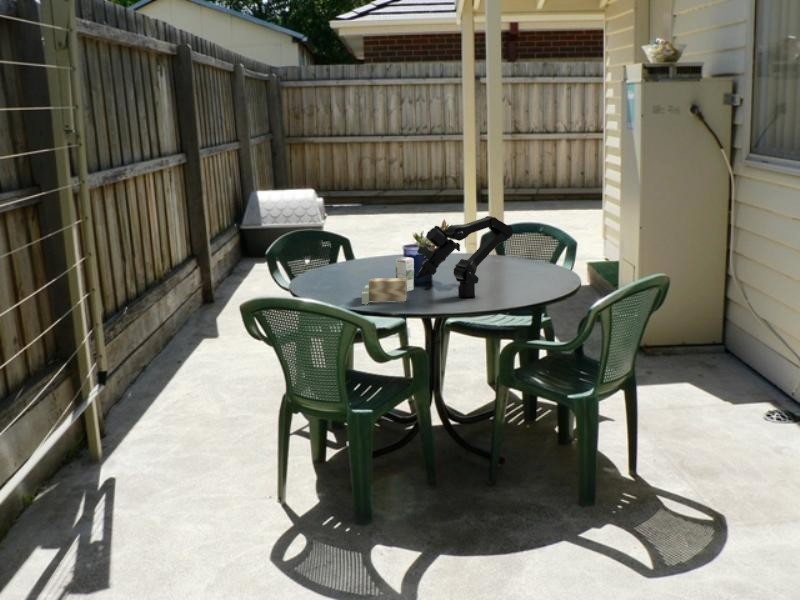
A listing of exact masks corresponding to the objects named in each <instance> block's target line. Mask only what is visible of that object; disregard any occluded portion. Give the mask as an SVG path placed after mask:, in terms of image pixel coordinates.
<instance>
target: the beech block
mask: <svg viewBox="0 0 800 600" xmlns="http://www.w3.org/2000/svg"><path fill="white" fill-rule="evenodd" d="M368 285H369V301H406V302H407V299H406V298H407V292H406V278H396V277H395V278H394V277H393V278H391V277H389V278H388V277H387V278H386V277H385V278H384V277H383V278H382V277H381V278H378V277H376V278H369V280H368Z"/></svg>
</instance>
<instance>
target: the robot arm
mask: <svg viewBox="0 0 800 600" xmlns="http://www.w3.org/2000/svg"><path fill="white" fill-rule="evenodd" d="M484 229H489V230H490V234H489V237H488V238H487V239H486V240H485V241H484V242H483V243H482V244H481V245H480V246H479V247H478V249H477V250H475V252H474V253H473V254H472V255H471V256H470V257H469V258H468V259H463V258H461V259H459V261H458V263H456V264H455V266H454V268H453V275H454V277H455V280H456V282H458V283H459V284H458V288H457V289H458V291H457V293H458V295H457V296H458V297H459V298H460V297H462V298H461V299H464V298H463V297H475V298H476V293H475V292H476V285H475V284H478V283H479V280H480V278H479V277H478V275H476V272H477V268H478V266H480V265H481V263H482V262H483V261H484V260H486V258H487V257H488V256H489V255H490V254H491V253H492V251H494V250H495V248H497V246H499V245H500V244H502V243H504V242H506V241H508V240H510V239H511V237H512V236H513V235H514V233H513V232H514V230H513V227H512V226H511V225H509V224H506V223H505V222H502V221H501V220H499V219H498V218H497V217H496V216H493V215H486V216H485V217H482V218H479V219H476V220H473V221H471V222H470V221H469V222H467V223H463V224H451V225H449V226H448V227H447V228H446V229H444V230H443V228H441V227H440V226H439V225H434V227H432V228H431V229H430V230H428V231H427V233H426V236H425V237H426V240H428V241H429V242H431V244H432V245H434V246H435V248H433V249H432V248H430V247H428V246H426V245H423V244H420V245H419V247H418V249H417V251H416V253H417V254H419V255H423V256H424V257H423V259H424V260H422V263H421V265H422V266H421V268H420V269H419V271H418V272H417V274H416V276H414V277H415V278H414V279H416V280H419V279H422V278H424V277H426V276H429V275H432V276H434V275H435V274H436V273H437V270H438V268H439V266H440V265H441V264H442V263H443V262H444V261H446V260H447V258H448V257H449V256H450V255H451V254H452V253H454V251H455V250H456V251H458V252H461V244H460V241H463V240H464V239H467V237H469V235H471V234H473V233H475V232H479V231H481V230H484ZM454 240H455V241H459V242H455V241H454Z"/></svg>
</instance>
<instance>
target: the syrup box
mask: <svg viewBox="0 0 800 600" xmlns="http://www.w3.org/2000/svg"><path fill="white" fill-rule="evenodd" d="M414 261H415V260H414V258H413V257H411V256H410V257H408V256H403V257H400V258H399V257H398V258H396V259H395V278H406V293H408V292H412V291H414V290H415V281H414V280H415V278H414V277H415V275H414V274H415V268H414V267H415V262H414Z"/></svg>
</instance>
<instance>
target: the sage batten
mask: <svg viewBox="0 0 800 600" xmlns="http://www.w3.org/2000/svg"><path fill="white" fill-rule="evenodd" d="M368 303H369V304H370V302H369V284H366V285H365V286H364V288H363V290H362V292H361V305H362V304H368ZM369 304H368V305H369Z"/></svg>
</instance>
